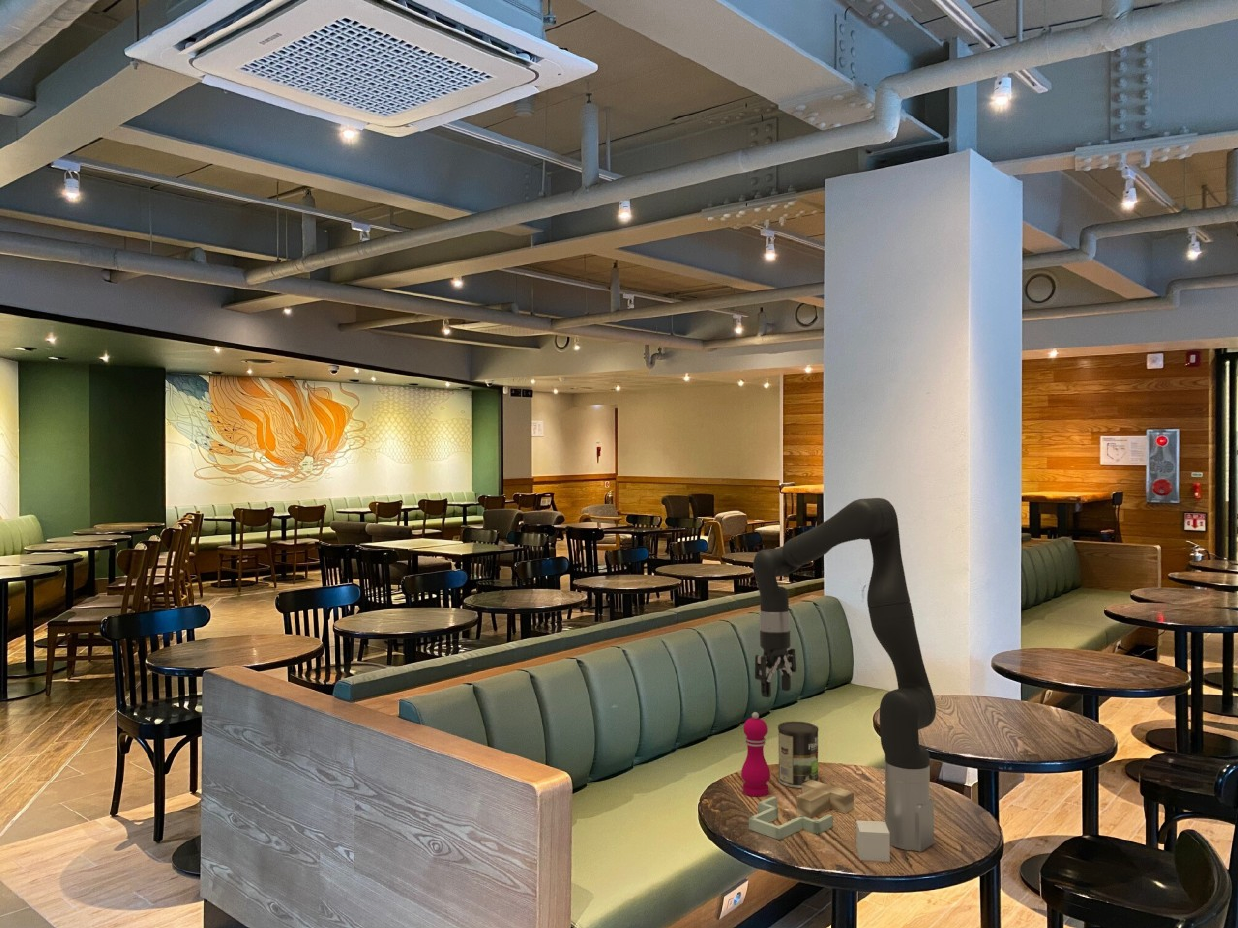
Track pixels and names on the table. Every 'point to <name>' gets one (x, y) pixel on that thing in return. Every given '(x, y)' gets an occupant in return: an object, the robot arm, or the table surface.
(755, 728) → the pepper mill
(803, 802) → the t block
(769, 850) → the table surface
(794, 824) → the t dock
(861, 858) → the beige cube
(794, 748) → the coffee can
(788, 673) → the robot arm
